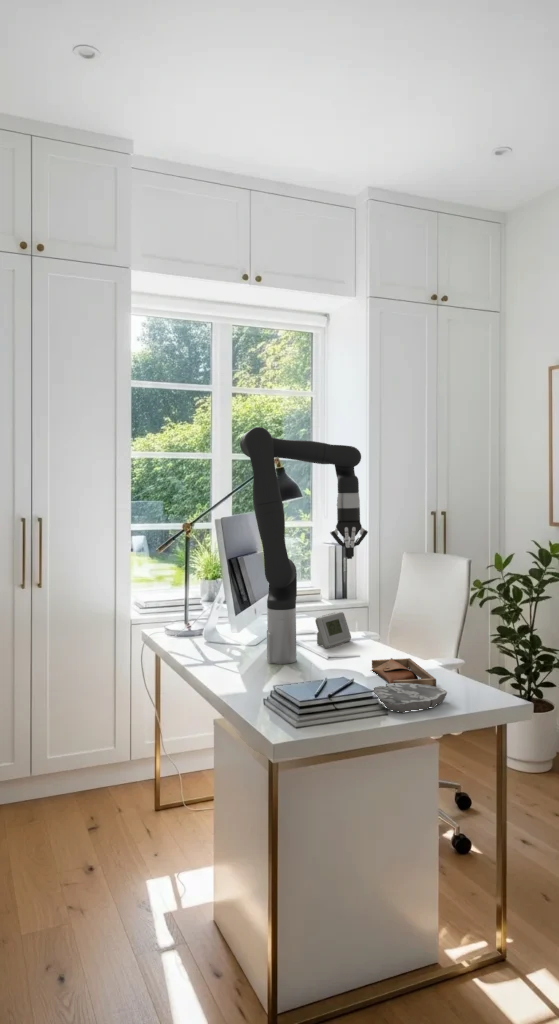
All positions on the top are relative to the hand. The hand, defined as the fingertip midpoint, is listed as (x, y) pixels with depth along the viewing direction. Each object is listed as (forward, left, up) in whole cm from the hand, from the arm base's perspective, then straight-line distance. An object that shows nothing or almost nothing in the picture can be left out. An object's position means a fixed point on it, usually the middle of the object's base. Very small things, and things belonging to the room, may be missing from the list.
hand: (349, 558), depth 237 cm
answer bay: (+8, -32, -32) cm, 46 cm away
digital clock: (-3, +14, -32) cm, 35 cm away
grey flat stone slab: (+2, -55, -32) cm, 64 cm away
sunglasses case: (+6, -31, -33) cm, 45 cm away
